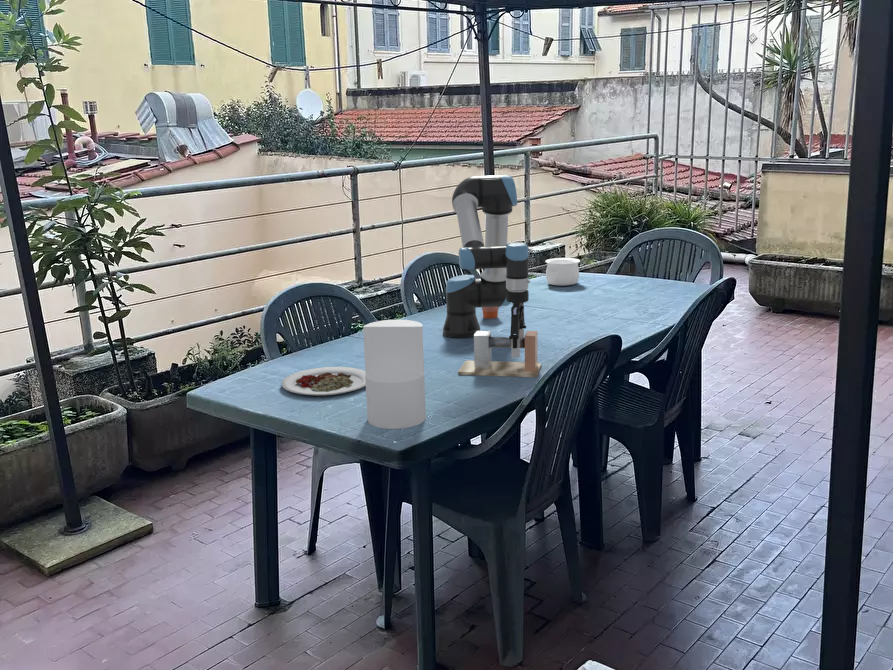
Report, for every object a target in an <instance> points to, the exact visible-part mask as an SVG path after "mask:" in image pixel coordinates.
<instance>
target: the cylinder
mask: <svg viewBox="0 0 893 670" xmlns="http://www.w3.org/2000/svg"><path fill="white" fill-rule="evenodd" d="M362 328H363V329H362V332H363V347H364V348H363V350H364V353H363V354H364V368H365V369H364V371H365V372H366V374H365V381H366V386H365V395H366V397H365V398H366V400H365V401H366V415H367V416H366V417H367V423H369V425H371V426H373V427H377V428H379V429H389V430H395V429H396V430H399V429H400V430H401V429H407V428H411V427H415V426H418V425H420V424H422V423H424V422H425V420H426V419H427V418H426V417H427V415H426V414H427V413H426V411H427V410H426V388H425V387H426V384H425V383H426V382H425V361H424V360H425V359H424V355H425V354H424V334H423V332H424V330H423V328H424V327H423V324H422V323H421V322H419V321H416V320H409V319H385V320H384V319H383V320H377V321H373V322H370V323H367V324H365V325H363V327H362Z"/></svg>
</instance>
